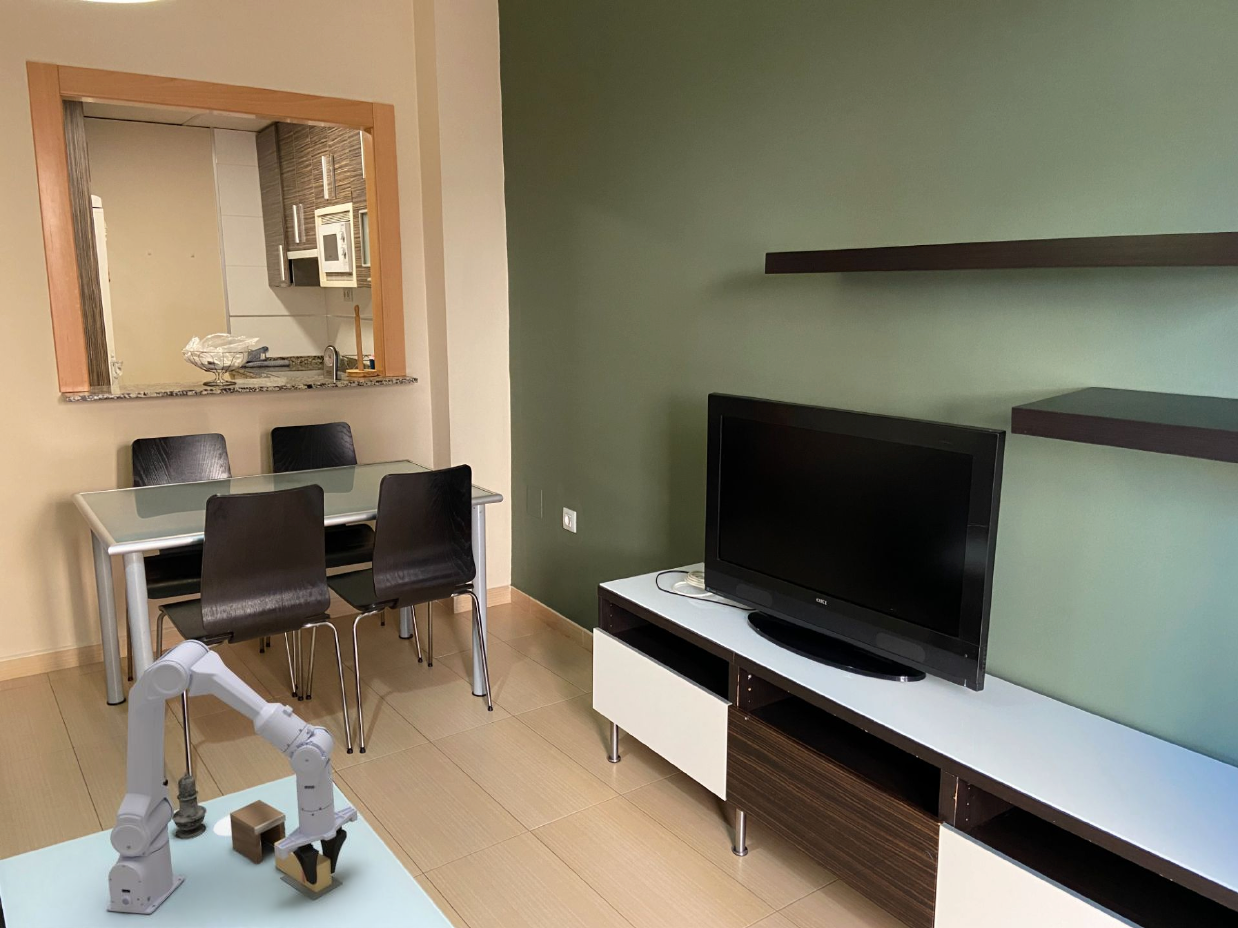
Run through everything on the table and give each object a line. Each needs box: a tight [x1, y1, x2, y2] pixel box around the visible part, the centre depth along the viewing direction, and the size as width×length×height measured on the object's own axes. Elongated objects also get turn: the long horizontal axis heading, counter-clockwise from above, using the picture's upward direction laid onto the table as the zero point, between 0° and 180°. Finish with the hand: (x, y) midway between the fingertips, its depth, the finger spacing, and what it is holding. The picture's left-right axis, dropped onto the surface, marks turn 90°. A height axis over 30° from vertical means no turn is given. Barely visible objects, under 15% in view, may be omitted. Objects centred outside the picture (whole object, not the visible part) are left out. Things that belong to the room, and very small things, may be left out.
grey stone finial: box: [171, 771, 207, 840], centre depth 168 cm, size 6×6×12 cm
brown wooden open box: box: [229, 799, 287, 865], centre depth 163 cm, size 6×8×7 cm
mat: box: [280, 873, 343, 901], centre depth 154 cm, size 6×10×1 cm, turn 53°
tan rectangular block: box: [273, 838, 332, 892], centre depth 155 cm, size 3×12×4 cm, turn 53°
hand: (320, 876), depth 152 cm, fingers closed on tan rectangular block, 3 cm apart
